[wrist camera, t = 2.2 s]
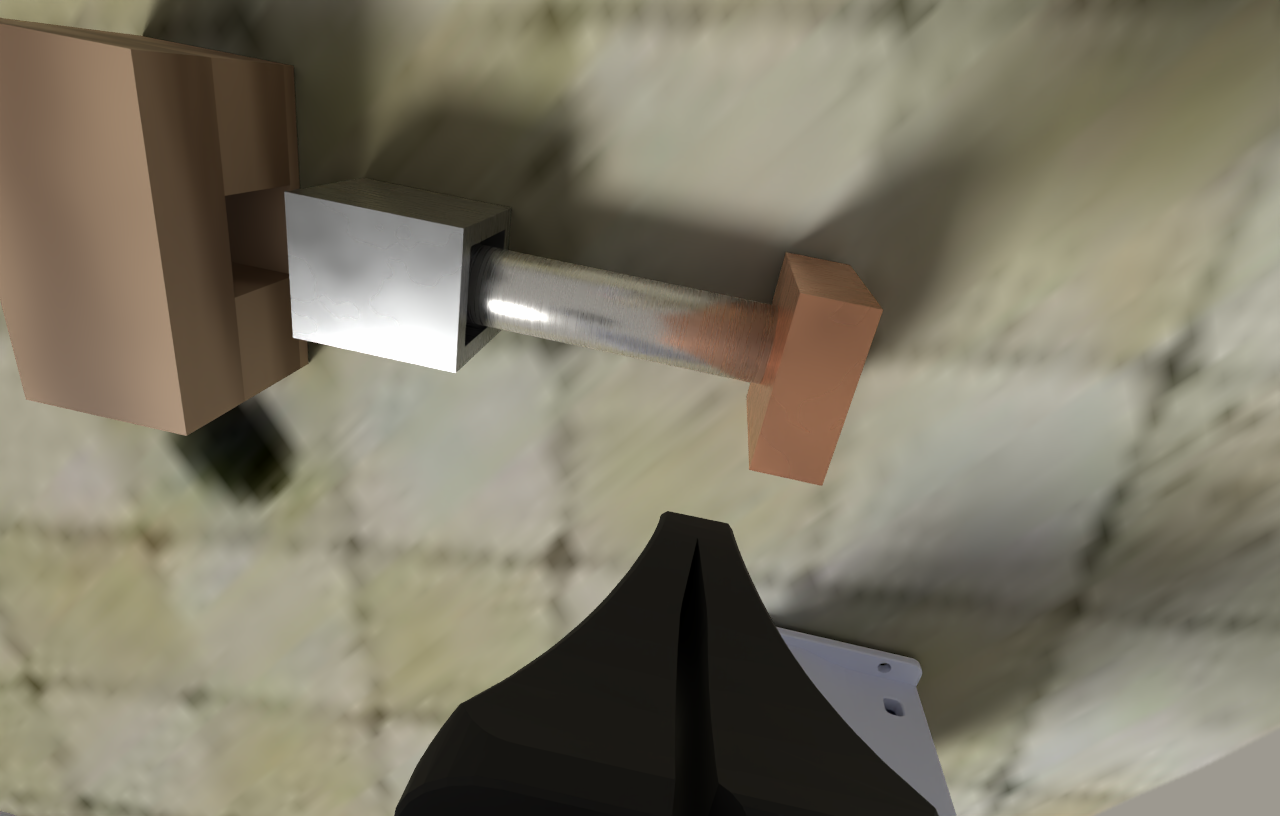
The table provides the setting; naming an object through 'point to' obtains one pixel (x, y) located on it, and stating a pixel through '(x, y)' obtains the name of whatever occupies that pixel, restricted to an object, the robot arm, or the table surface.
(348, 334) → the grey channel block
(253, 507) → the table surface
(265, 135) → the socket block
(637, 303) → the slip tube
